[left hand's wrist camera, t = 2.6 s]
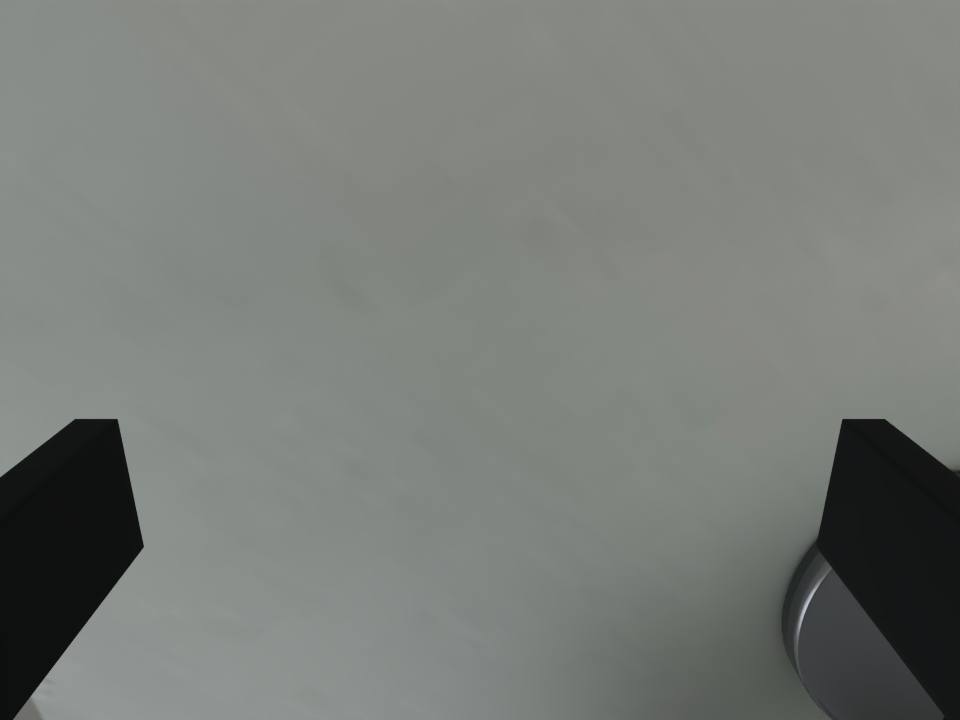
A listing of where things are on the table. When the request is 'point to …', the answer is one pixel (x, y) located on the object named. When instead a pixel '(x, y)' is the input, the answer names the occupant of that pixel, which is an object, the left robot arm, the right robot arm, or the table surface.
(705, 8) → the table surface
